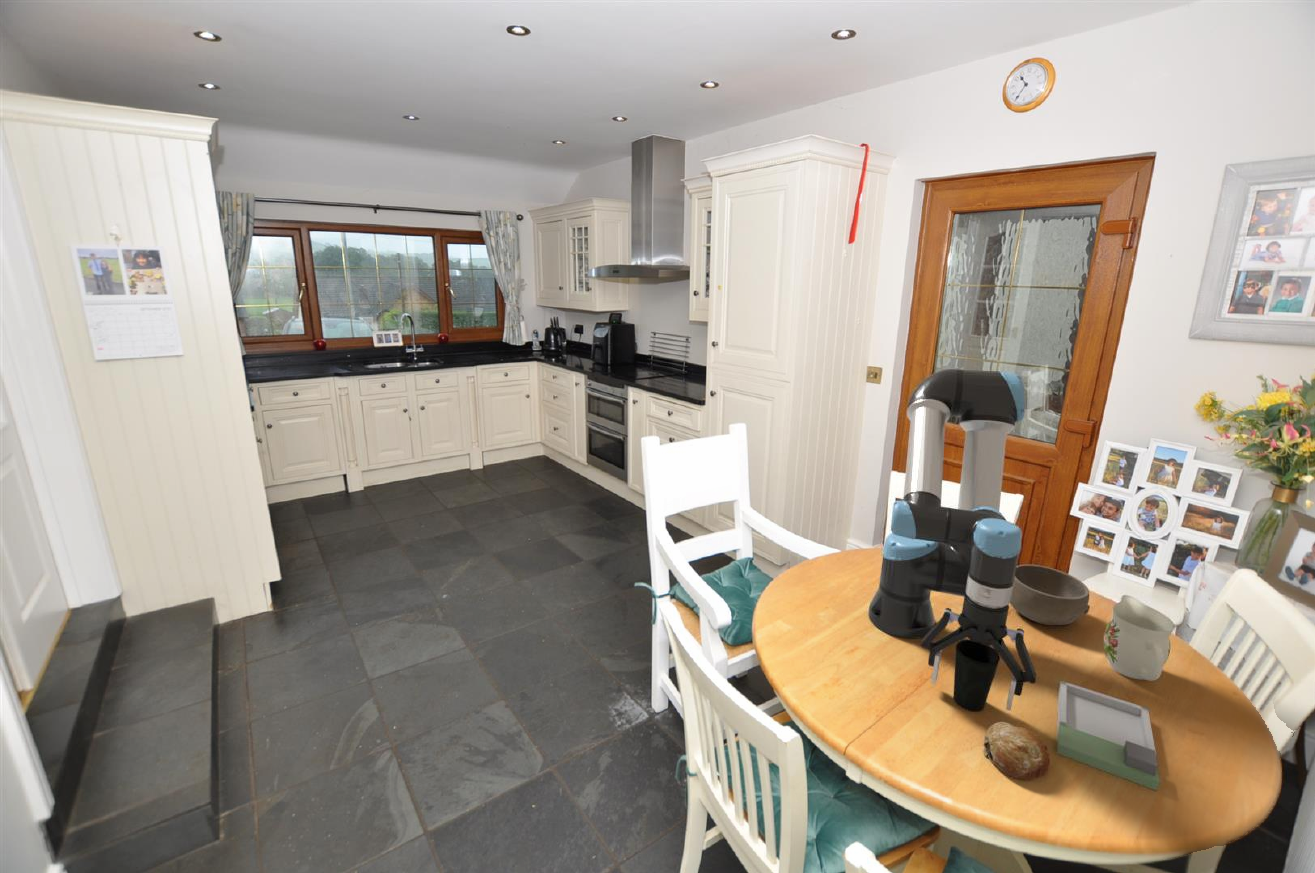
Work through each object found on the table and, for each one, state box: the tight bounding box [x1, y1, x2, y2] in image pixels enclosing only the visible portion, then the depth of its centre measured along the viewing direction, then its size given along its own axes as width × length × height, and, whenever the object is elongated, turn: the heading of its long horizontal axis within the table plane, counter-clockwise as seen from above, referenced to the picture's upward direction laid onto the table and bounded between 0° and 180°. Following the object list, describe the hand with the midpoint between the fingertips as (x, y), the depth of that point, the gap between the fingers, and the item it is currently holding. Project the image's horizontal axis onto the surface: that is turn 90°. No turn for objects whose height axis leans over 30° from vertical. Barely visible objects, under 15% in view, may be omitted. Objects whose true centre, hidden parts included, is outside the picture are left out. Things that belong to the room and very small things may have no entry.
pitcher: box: [1103, 594, 1176, 682], centre depth 124 cm, size 11×18×14 cm, turn 163°
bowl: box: [1009, 564, 1091, 626], centre depth 146 cm, size 17×18×10 cm
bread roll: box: [982, 721, 1050, 781], centre depth 103 cm, size 10×10×8 cm
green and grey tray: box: [1056, 680, 1161, 792], centre depth 108 cm, size 14×20×4 cm
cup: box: [953, 639, 1001, 713], centre depth 116 cm, size 8×8×12 cm
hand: (970, 692), depth 117 cm, fingers open, 13 cm apart
